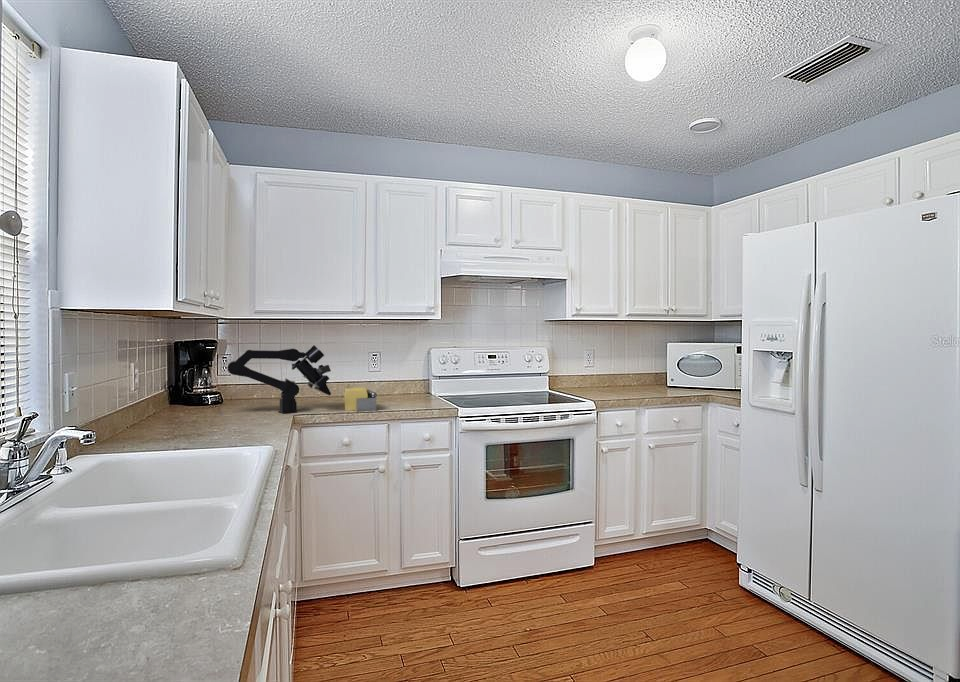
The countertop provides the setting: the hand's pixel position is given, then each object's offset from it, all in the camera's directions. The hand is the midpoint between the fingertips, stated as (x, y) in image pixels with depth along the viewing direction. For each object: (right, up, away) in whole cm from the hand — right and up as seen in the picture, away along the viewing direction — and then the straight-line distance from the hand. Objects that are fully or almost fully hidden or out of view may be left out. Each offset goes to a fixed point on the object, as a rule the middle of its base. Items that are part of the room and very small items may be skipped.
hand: (330, 394), depth 276 cm
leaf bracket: (+14, -7, +6) cm, 17 cm away
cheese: (+11, -8, +5) cm, 14 cm away
